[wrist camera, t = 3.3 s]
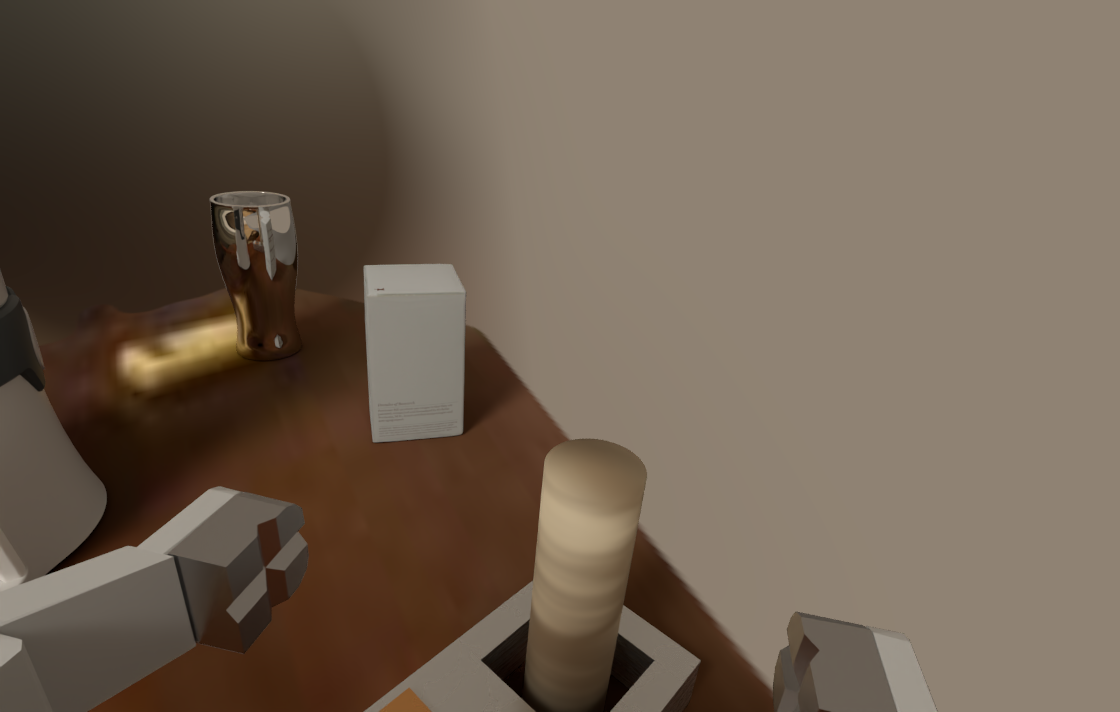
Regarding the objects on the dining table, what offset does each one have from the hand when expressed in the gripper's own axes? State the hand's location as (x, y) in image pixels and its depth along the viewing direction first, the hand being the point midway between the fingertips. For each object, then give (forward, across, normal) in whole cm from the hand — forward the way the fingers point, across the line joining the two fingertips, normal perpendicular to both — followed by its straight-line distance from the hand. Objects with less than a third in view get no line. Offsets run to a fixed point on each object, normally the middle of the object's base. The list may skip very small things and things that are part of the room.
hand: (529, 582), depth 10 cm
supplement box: (+34, +18, +20) cm, 43 cm away
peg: (+12, 0, +20) cm, 24 cm away
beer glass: (+41, +37, +20) cm, 59 cm away
